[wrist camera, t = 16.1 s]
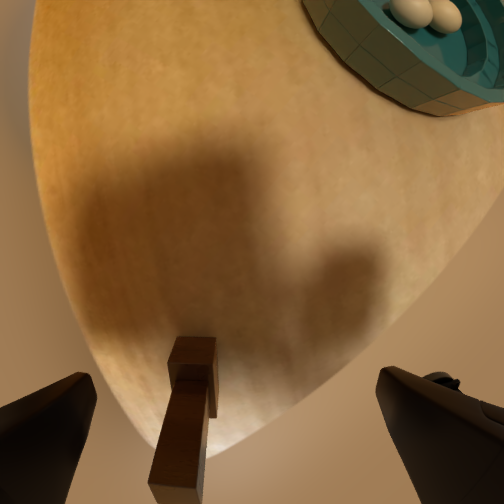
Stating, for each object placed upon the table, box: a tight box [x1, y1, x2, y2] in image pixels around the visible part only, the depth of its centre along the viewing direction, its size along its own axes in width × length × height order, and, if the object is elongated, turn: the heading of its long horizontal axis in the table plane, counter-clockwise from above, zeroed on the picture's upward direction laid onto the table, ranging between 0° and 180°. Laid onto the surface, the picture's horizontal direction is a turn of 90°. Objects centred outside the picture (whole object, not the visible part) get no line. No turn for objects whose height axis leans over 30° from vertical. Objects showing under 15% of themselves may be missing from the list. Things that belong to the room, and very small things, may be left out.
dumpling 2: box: [428, 0, 462, 34], centre depth 11 cm, size 3×3×3 cm
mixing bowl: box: [303, 0, 504, 116], centre depth 11 cm, size 16×16×6 cm
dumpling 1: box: [389, 0, 433, 29], centre depth 11 cm, size 3×3×3 cm
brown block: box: [148, 337, 219, 504], centre depth 13 cm, size 4×2×10 cm, turn 179°
